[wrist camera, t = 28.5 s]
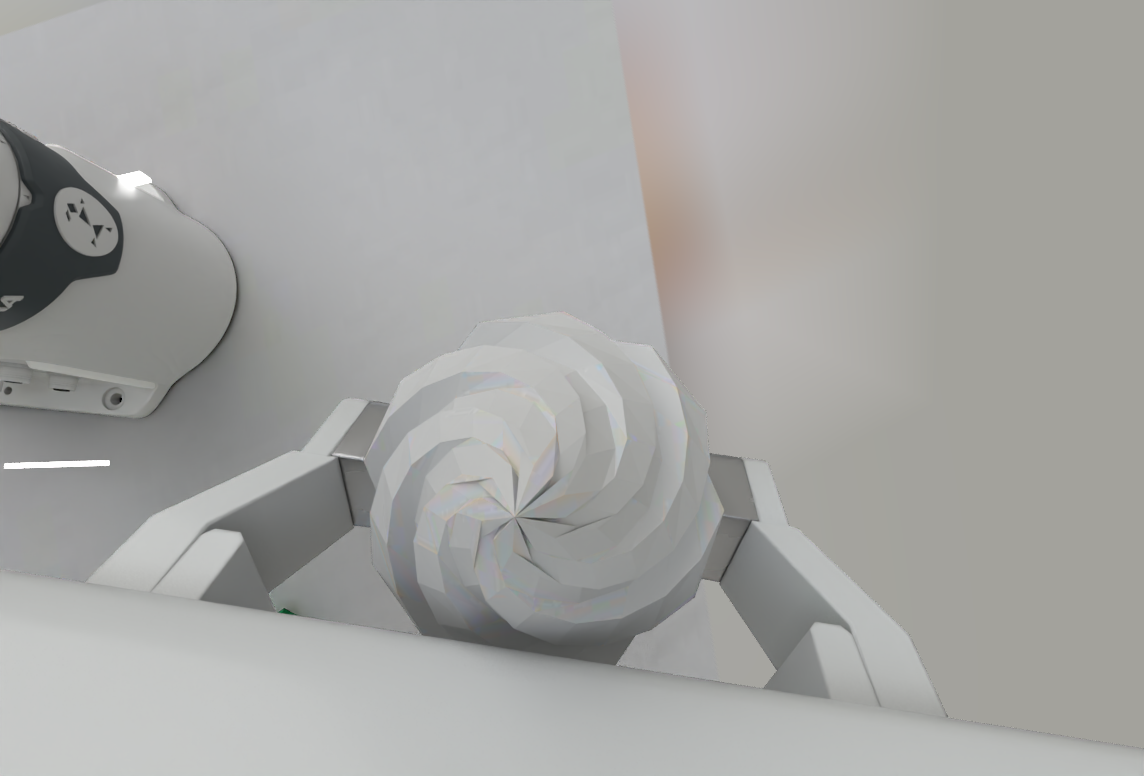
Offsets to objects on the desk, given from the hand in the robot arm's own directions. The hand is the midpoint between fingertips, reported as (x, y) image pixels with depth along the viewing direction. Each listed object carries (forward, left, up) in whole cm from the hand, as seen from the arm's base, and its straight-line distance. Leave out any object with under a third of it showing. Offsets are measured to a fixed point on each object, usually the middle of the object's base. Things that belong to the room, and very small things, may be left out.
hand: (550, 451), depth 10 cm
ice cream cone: (0, -1, -8) cm, 8 cm away
